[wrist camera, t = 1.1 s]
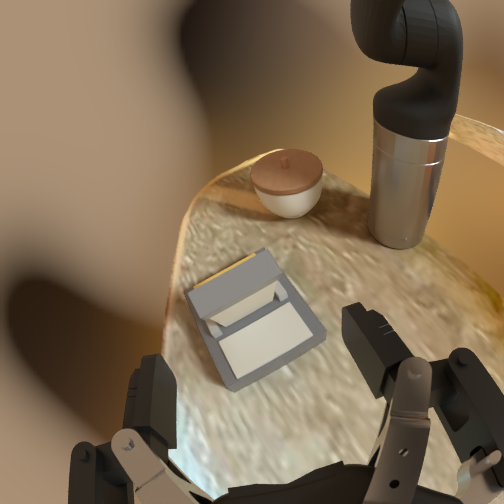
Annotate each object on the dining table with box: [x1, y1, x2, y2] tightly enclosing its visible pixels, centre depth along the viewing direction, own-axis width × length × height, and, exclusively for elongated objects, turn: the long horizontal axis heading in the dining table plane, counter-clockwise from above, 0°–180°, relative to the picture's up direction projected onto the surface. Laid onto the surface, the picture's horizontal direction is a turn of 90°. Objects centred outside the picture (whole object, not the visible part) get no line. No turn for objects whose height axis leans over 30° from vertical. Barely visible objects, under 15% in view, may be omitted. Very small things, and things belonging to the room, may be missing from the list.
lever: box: [188, 249, 282, 327], centre depth 24 cm, size 2×6×12 cm, turn 117°
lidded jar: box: [250, 149, 323, 219], centre depth 41 cm, size 11×11×9 cm
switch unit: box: [184, 247, 326, 392], centre depth 31 cm, size 14×12×4 cm
